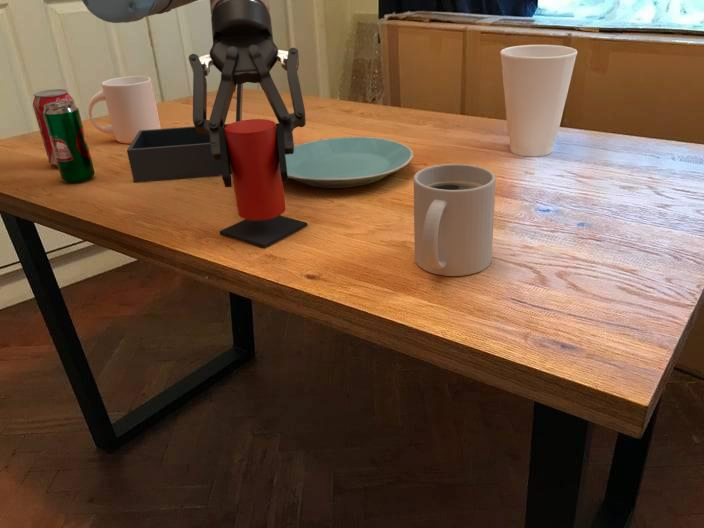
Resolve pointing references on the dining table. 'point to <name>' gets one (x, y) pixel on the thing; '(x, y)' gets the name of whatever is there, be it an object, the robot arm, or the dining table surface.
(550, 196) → the dining table surface
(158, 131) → the dark grey open box
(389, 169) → the plate
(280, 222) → the rubber mat
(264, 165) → the red cylinder
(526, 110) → the cup
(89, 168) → the soda can
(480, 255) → the mug
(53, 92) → the beverage can
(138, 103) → the mug
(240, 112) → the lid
